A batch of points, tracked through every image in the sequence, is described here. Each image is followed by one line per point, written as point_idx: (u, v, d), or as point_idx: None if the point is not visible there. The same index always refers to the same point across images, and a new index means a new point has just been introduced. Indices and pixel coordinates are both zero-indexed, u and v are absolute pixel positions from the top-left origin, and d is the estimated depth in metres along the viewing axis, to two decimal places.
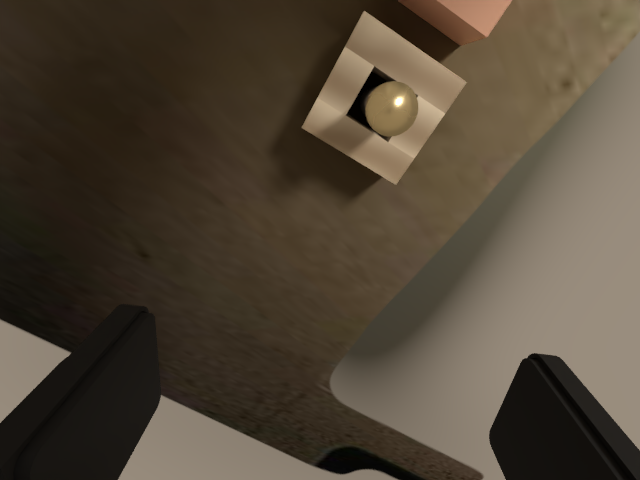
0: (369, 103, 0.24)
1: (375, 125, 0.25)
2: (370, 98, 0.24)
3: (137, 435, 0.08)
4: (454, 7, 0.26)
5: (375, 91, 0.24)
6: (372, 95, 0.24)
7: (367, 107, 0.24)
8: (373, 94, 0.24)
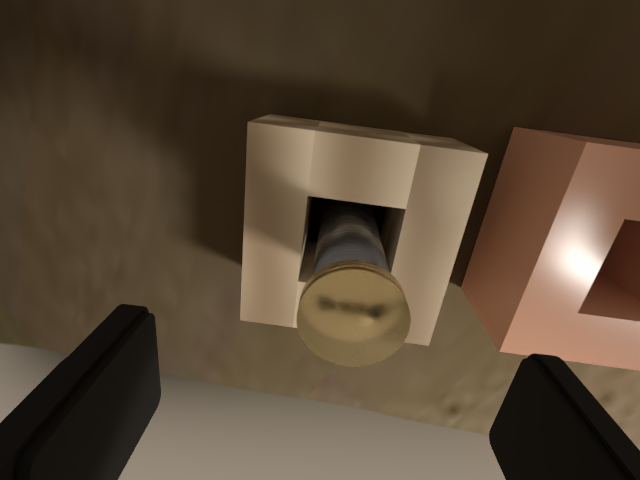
0: (346, 276, 0.10)
1: (308, 305, 0.11)
2: (356, 274, 0.10)
3: (137, 435, 0.08)
4: (529, 294, 0.16)
5: (374, 278, 0.10)
6: (364, 276, 0.10)
7: (336, 276, 0.10)
8: (367, 277, 0.10)
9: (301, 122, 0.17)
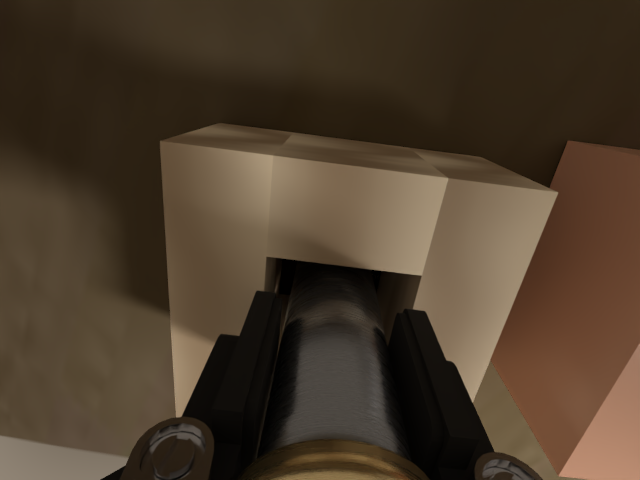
0: None
1: None
2: None
3: None
4: (612, 404, 0.10)
5: None
6: None
7: None
8: None
9: (259, 137, 0.11)
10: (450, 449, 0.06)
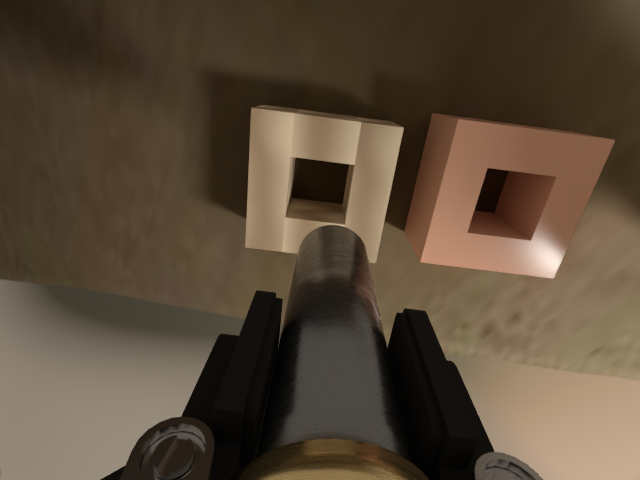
0: None
1: None
2: None
3: None
4: (435, 220, 0.24)
5: None
6: None
7: None
8: None
9: (286, 109, 0.25)
10: (450, 449, 0.06)
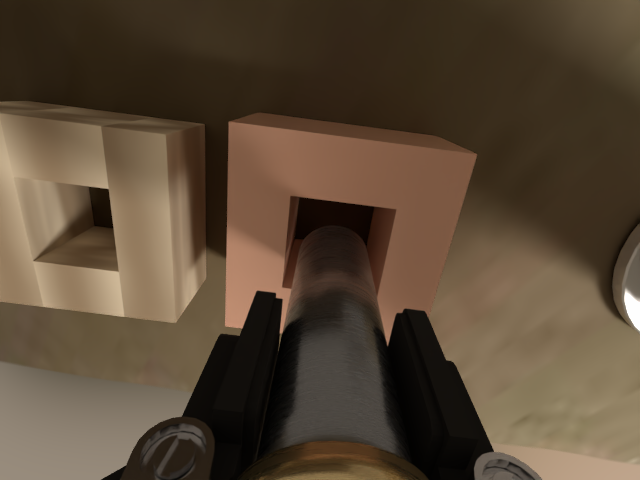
0: None
1: None
2: None
3: None
4: (232, 270, 0.17)
5: None
6: None
7: None
8: None
9: (28, 107, 0.17)
10: (450, 449, 0.06)
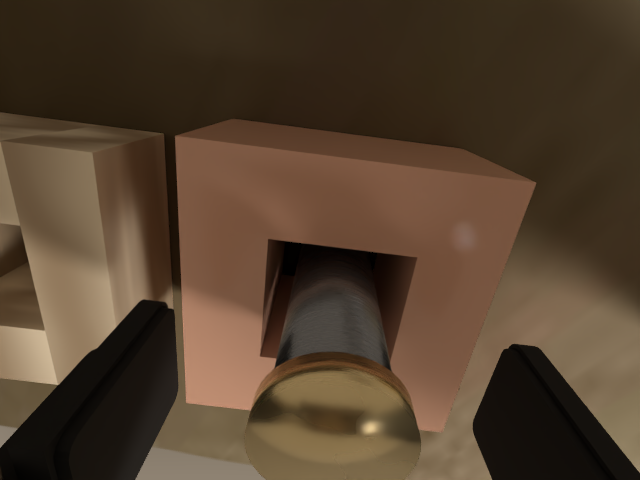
0: (319, 387, 0.07)
1: (262, 424, 0.07)
2: (336, 384, 0.06)
3: (157, 426, 0.08)
4: (191, 334, 0.12)
5: (364, 390, 0.07)
6: (348, 386, 0.07)
7: (303, 386, 0.07)
8: (352, 389, 0.06)
9: None
10: None
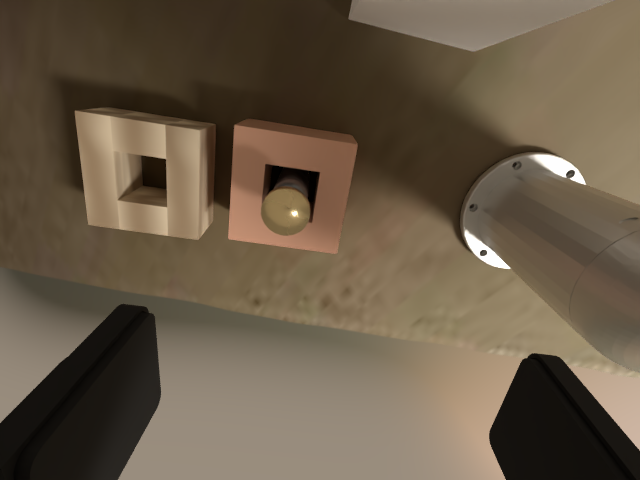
0: (281, 191, 0.25)
1: (266, 204, 0.25)
2: (286, 190, 0.25)
3: (137, 435, 0.08)
4: (233, 204, 0.30)
5: (293, 192, 0.25)
6: (289, 191, 0.25)
7: (277, 191, 0.25)
8: (290, 191, 0.25)
9: (116, 112, 0.31)
10: None
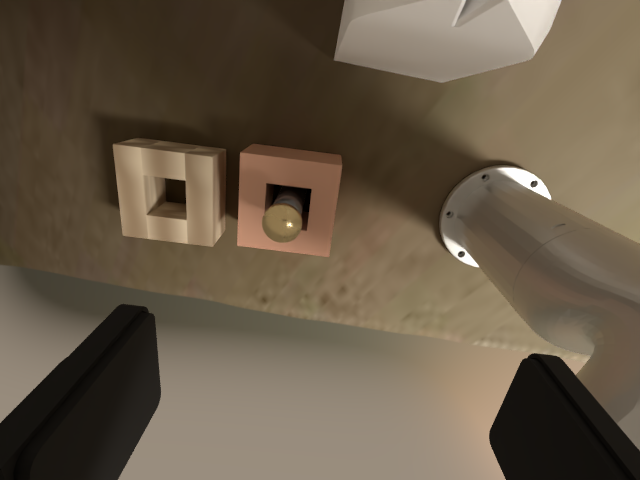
0: (277, 207, 0.31)
1: (265, 218, 0.31)
2: (281, 206, 0.31)
3: (137, 435, 0.08)
4: (240, 217, 0.37)
5: (287, 207, 0.31)
6: (284, 207, 0.31)
7: (274, 207, 0.31)
8: (284, 207, 0.31)
9: (145, 142, 0.37)
10: None
